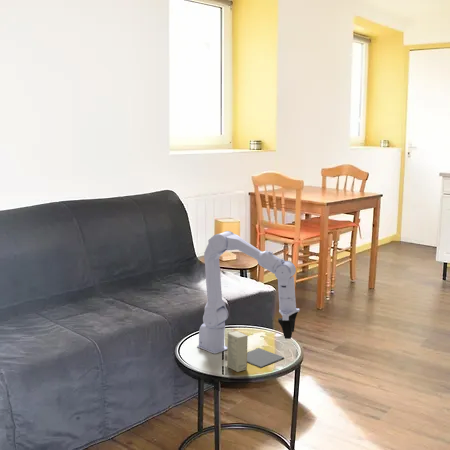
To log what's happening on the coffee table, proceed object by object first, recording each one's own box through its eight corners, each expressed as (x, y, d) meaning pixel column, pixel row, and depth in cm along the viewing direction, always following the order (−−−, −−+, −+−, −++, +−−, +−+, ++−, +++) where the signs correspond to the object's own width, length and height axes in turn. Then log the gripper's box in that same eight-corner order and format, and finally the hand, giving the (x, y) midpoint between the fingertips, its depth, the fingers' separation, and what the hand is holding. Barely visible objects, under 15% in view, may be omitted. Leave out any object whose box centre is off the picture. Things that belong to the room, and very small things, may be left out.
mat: (235, 357, 205) (235, 356, 205) (258, 349, 214) (258, 348, 214) (260, 367, 197) (260, 366, 197) (284, 358, 206) (284, 357, 206)
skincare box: (247, 369, 195) (248, 335, 193) (236, 372, 192) (238, 337, 190) (236, 363, 200) (237, 330, 198) (225, 366, 197) (227, 332, 195)
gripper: (296, 301, 190) (298, 341, 191) (300, 291, 204) (303, 328, 206) (275, 302, 192) (277, 341, 193) (281, 292, 206) (283, 329, 207)
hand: (289, 335), depth 199 cm, fingers open, 7 cm apart
